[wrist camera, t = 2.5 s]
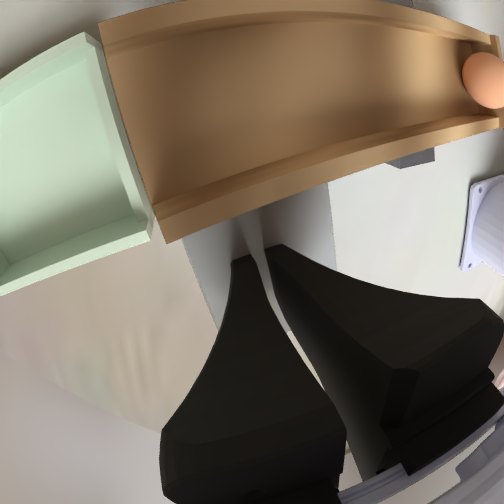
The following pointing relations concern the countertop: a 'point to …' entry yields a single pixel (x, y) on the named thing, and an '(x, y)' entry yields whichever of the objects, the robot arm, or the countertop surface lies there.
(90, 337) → the countertop surface
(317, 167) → the lever
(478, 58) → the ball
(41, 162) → the dish
